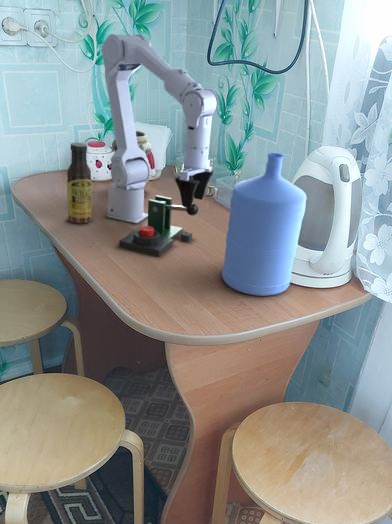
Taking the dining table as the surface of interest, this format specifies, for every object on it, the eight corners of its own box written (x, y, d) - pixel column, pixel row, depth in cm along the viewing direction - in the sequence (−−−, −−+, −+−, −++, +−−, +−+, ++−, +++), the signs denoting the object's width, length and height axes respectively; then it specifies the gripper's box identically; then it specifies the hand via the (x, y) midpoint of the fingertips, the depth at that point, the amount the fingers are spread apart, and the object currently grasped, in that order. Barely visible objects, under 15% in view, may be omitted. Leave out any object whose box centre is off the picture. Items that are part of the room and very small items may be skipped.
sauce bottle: (71, 225, 137) (67, 147, 125) (65, 217, 141) (60, 141, 130) (95, 223, 139) (93, 146, 128) (88, 215, 144) (85, 140, 133)
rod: (199, 214, 131) (199, 202, 130) (195, 217, 129) (195, 205, 127) (157, 209, 135) (157, 198, 134) (152, 212, 133) (152, 201, 131)
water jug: (271, 305, 109) (297, 171, 94) (208, 282, 116) (222, 153, 100) (299, 279, 121) (326, 156, 105) (241, 260, 127) (258, 141, 111)
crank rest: (180, 240, 134) (180, 234, 133) (183, 237, 136) (183, 231, 135) (188, 242, 134) (189, 236, 133) (191, 239, 135) (192, 233, 134)
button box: (119, 247, 128) (119, 233, 126) (134, 236, 134) (134, 223, 132) (159, 257, 125) (159, 243, 123) (172, 245, 131) (173, 232, 129)
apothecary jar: (148, 200, 158) (150, 139, 148) (108, 197, 158) (108, 135, 147) (151, 188, 168) (153, 130, 158) (114, 185, 168) (114, 126, 157)
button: (136, 235, 127) (136, 228, 126) (143, 231, 129) (143, 224, 128) (149, 238, 126) (150, 232, 125) (156, 234, 128) (156, 227, 127)
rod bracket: (182, 232, 139) (185, 198, 134) (168, 243, 132) (170, 208, 127) (149, 224, 142) (150, 191, 137) (134, 235, 135) (134, 200, 130)
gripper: (201, 155, 114) (196, 214, 122) (223, 143, 126) (217, 198, 133) (172, 149, 116) (169, 208, 124) (196, 138, 128) (192, 193, 135)
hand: (192, 202), depth 129 cm, fingers open, 7 cm apart
